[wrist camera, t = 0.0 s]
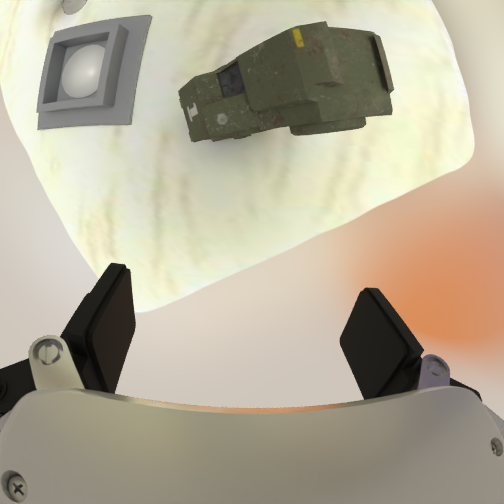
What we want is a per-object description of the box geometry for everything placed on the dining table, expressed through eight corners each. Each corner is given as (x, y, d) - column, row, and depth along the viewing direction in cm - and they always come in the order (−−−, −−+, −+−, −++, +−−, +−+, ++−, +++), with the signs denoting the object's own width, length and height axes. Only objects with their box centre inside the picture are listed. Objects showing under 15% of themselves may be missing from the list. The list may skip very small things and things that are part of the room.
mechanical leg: (181, 155, 36) (236, 178, 9) (167, 108, 32) (187, 2, 6) (270, 130, 38) (450, 131, 12) (259, 86, 35) (427, 23, 9)
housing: (57, 33, 23) (42, 27, 19) (151, 17, 26) (143, 5, 21) (40, 129, 31) (23, 132, 26) (131, 124, 33) (118, 124, 29)
